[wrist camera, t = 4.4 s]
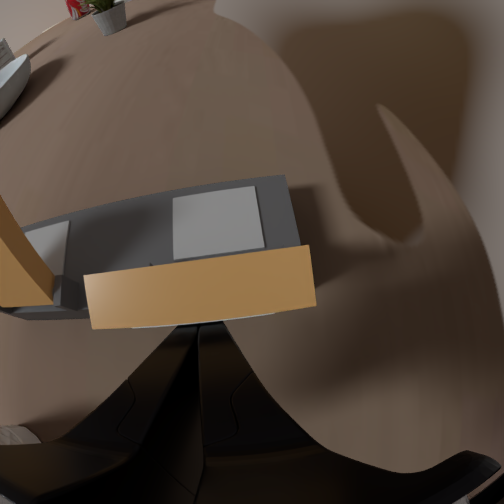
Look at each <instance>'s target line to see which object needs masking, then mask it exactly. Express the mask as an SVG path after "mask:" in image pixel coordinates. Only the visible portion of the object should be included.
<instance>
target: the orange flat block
mask: <svg viewBox="0 0 504 504" xmlns="http://www.w3.org/2000/svg"><path fill="white" fill-rule="evenodd" d="M84 283H85V290H86V297H87V303H88V309H89V314H90V319H91V324H92V329H114V328H148V327H161V326H174V325H185V324H195V323H205V322H214V321H223V320H231V319H239V318H247V317H255V316H262V315H269V314H275V312H282V311H288V310H295V309H301V308H307V307H312V306H316V297H315V288H314V280H313V272H312V264H311V256H310V249H309V245H303V246H296V247H289V248H281V249H274V250H267V251H259V252H252V253H245V254H237V255H230V256H223V257H215V258H208V259H200V260H193V261H186V262H178V263H171V264H164V265H156V266H149V267H142V268H134V269H127V270H119V271H112V272H105V273H97V274H90V275H84Z"/></svg>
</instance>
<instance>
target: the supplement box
mask: <svg viewBox="0 0 504 504" xmlns="http://www.w3.org/2000/svg"><path fill="white" fill-rule="evenodd" d="M15 59H16V58H15V56H14V55H13V53H12V51H11V49H10V48H9V46H8V44H7V42H6V40H5V38H3V39H1V40H0V70H1V69H3V68H4V67H5V66H6V65H8V64H9V63H10V62H12V61H13V60H15Z"/></svg>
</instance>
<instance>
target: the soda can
mask: <svg viewBox="0 0 504 504" xmlns="http://www.w3.org/2000/svg"><path fill="white" fill-rule="evenodd" d="M65 2H66V5H67V8H68V10H69V13H70V15H71V17H72V19H73V20H78V19H80V18H82V17H84V16H86V15H87V14H88V13H89V12H90V8H86V7H90V6H89V4H84V5H83V7H82V5H80V4H82V3H85V2H86V1H83V0H65ZM78 5H80V6H78ZM84 8H86V9H84ZM83 9H84V10H83ZM82 10H83V11H82Z"/></svg>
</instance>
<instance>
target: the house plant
mask: <svg viewBox="0 0 504 504" xmlns="http://www.w3.org/2000/svg"><path fill="white" fill-rule="evenodd" d="M83 1H86V2H85V3H82V4H80V5H82V7H83V5H84V4H92V5H94V6H95V7H86V8H95V9H97V10H98V11H96V12H94V13H93V14H92V17H93V19H94V20H95V22H96V23H97V25H98V27H99V28H100V30H101V31H102V33H103V34H104V36H107V35H111V34H113V33H116V32H118V31H120V30H122V29H123V28H125V27H126V26H127V23H126V14H125V3H124V1H119V2H114V1H115V0H83ZM80 5H78V6H80ZM86 8H84V9H86ZM84 9H83V10H84ZM83 10H82V11H83Z"/></svg>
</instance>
